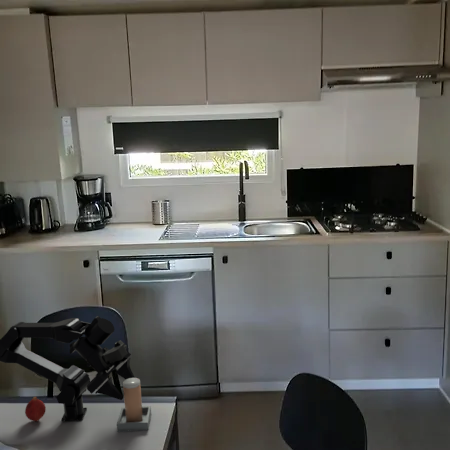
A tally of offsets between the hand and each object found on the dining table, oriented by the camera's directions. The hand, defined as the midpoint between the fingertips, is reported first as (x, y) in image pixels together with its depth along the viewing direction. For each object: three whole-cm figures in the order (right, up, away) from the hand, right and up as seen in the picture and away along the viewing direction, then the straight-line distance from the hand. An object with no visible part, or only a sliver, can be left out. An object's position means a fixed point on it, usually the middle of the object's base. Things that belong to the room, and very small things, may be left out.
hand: (129, 391), depth 152 cm
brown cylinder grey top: (+1, -9, +1) cm, 9 cm away
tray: (+1, -10, +2) cm, 10 cm away
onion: (-29, -11, +5) cm, 32 cm away
